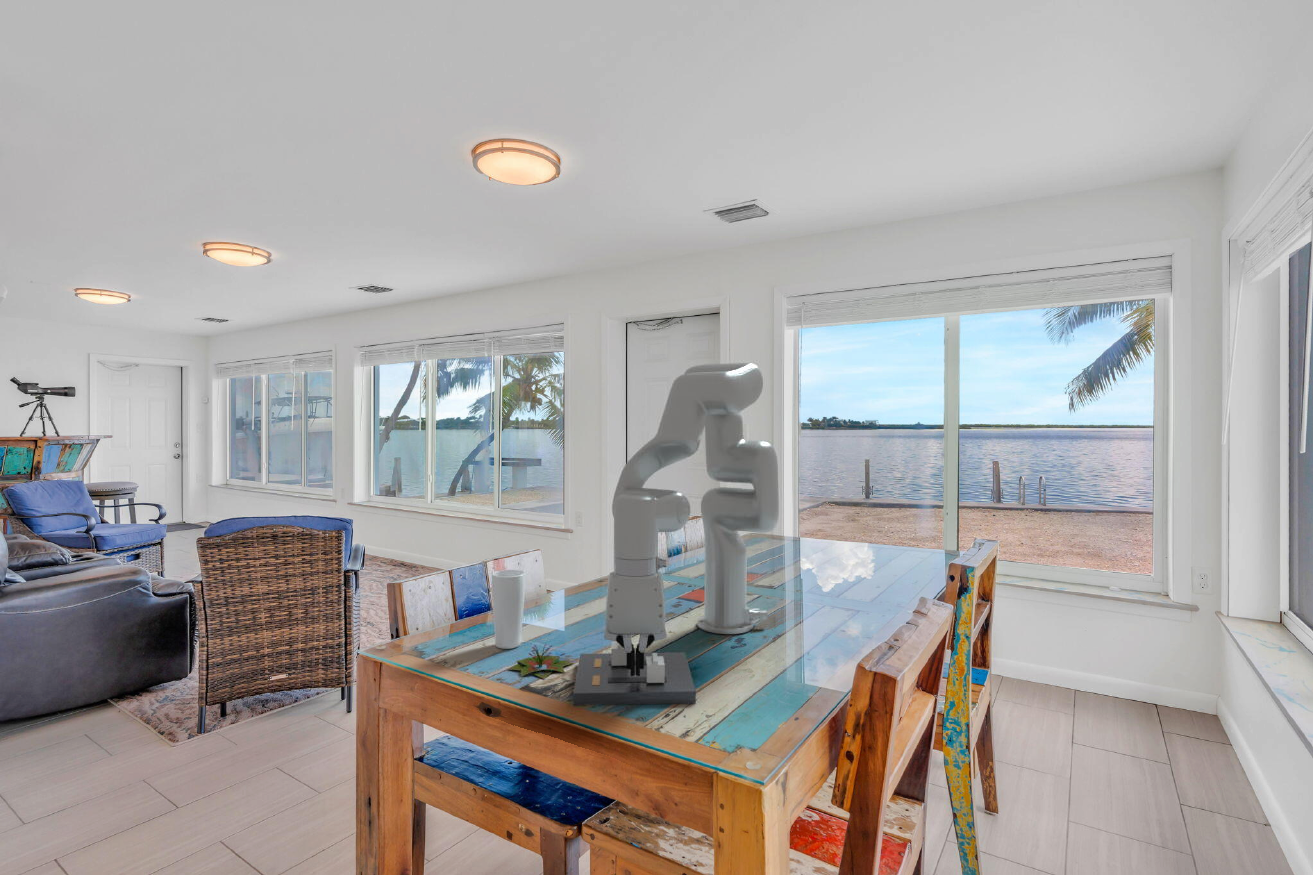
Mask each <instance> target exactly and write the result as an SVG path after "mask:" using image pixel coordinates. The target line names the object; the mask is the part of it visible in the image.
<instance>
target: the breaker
mask: <svg viewBox="0 0 1313 875" xmlns="http://www.w3.org/2000/svg"><path fill="white" fill-rule="evenodd" d="M610 648H611V651H610V653H611V666H615V665H627V652H626V651H625V649H624V648H623V647H622V646H621V645H620V644H619V643H618V642H616V641H611V647H610Z"/></svg>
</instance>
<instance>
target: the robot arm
mask: <svg viewBox="0 0 1313 875" xmlns="http://www.w3.org/2000/svg"><path fill="white" fill-rule="evenodd" d="M763 386H764V378H763V373H762V371H761V370H760V368H759V367H758V366H757V365H756V364H754V363H751V362H737V363H736V362H735V363H734V362H733V363H708V364H706V363H705V364H699V365H694V366H691V367H689V368H687V369H686V370H685V372H684V374H681V375H678V376H677V377H676V378H675V379H674V380H673V383H672V385H671V388H670V390H669V393H668V396H667V399H666V404H665V407H664V409H663V413H662V416H661V418H660V422H659V425H658V428H657V432H656V434H655V435H654V437H653V438H651V440H649V441H648V442H646V444H644V445H643V446H642V447H641V448H640V449H638V451H636V453H635V454H634V455H632V457H630V459H629V460H628V461H627V462H626V464H625V465H624V467H623V468H622V471H621V473H620V476H619V479H618V481H617V484H616V488H615V489H614V494H613V498H612V502H611V503H612V505H611V510H612V511H611V512H612V517H613V571H612V572H609V574H608V575H609V576H608V580H607V587H606V599H605V600H606V601H605V630H604V633H603V638H604V639H605V641H606V640H607V641H611V642H613V641H616V642H618V643H619V644H620V645H621V646H622V647H623V648H624V649H625V651H626V652H627V669H631V676H634V675H635V670H636V675H637V676H640V669H644V653H646V650H647V649H648V648H649V647H650V646H651V645H652V644H653V643H654V642H658V641H662V640H666V639H667V637H668V635H667V630H666V603H665V602H666V600H665V588H664V579H663V574H662V572H660V571H659V570H660V569H662V568H667V559H662V558H660V557H659V552H658V551H659V543H658V542H659V533H673V532H677V531H679V530H681V529H682V528H684V526H685V525H686V524H687V523H688V521H689V519H690V516H691V505H690V501H689V500H688V498H687V497H686V496H685V495H684V494H683V493H682V492H680V491H678V490H673V489H658V488H648V487H645V488H644V485H646V482H647V481H648V480H649V479H650V478H651V477H652V476H653V475H655V473H657V472H659V471H660V470H662V469H664V468H667V467H668V466H671V465H673V464H675V463H678V462H680V461H683V460H685V459H687V458H689V457H691V456H693V455H695V454H696V453H697V451H698V450H699V448H700V444H701V440H702V436H703V433H704V436H705V438H704V439H705V440H704V441H705V442H704V443H705V446H704V447H705V464H706V472H707V475H708V477H709V478H710V479H712V480H713V481H715V482H720V483H721V482H722V483H736V484H750V485H752V486H753V488H742V487H725V486H724V487H714V488H710V489H709V490H707V491H706V492H705V493H704V494H703V496H702V498H701V501H700V502H701V503H700V512H701V513H700V514H701V520H702V526H703V534H704V608H703V609H704V612H703V613H704V615H702V616H701V615H700V617H698V619H697V626H698V628H699V629H701V630H703V631H706V632H709V633H712V634H720V635H737V634H744V633H747V632H750V631H751V630H752V629H753V627H754V620H756V619H759V620H768V611H767V610H765V609H762V610H760V608H750V607H749V606H748V605H747V589H748V588H747V579H748V578H747V576H748V574H747V570H748V568H747V566H748V564H747V563H748V562H747V561H748V556H747V555H748V551H747V547H746V544H745V541H744V540H743V538H742V537H741V535H740V533H739V532H750V533H751V532H752V533H761V534H763V533H764V534H765V533H770V532H772V531H773V530H775V529H776V528H777V525H778V521H779V515H780V514H779V513H780V511H779V510H780V506H779V505H780V501H779V464H778V457H777V453H776V451H775V448H774V447H773V445H772V444H771V443H769V442H767V441H765V440H764V441H763V440H746V439H744V430H743V429H744V426H743V417H742V414H741V412H742V411H744V410H745V409H747V408H748V407H750V406H751V405H753V404H754V403H755V402H756V401H757V400H759V398H760V396H761V394H762V392H763V388H764V387H763ZM631 635H632V636H635V635H637V636H638V635H639V636H638V637H639V639H638V643H637V644H636V647H634V644H633V642H632V636H631ZM635 653H636V663H635Z"/></svg>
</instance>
